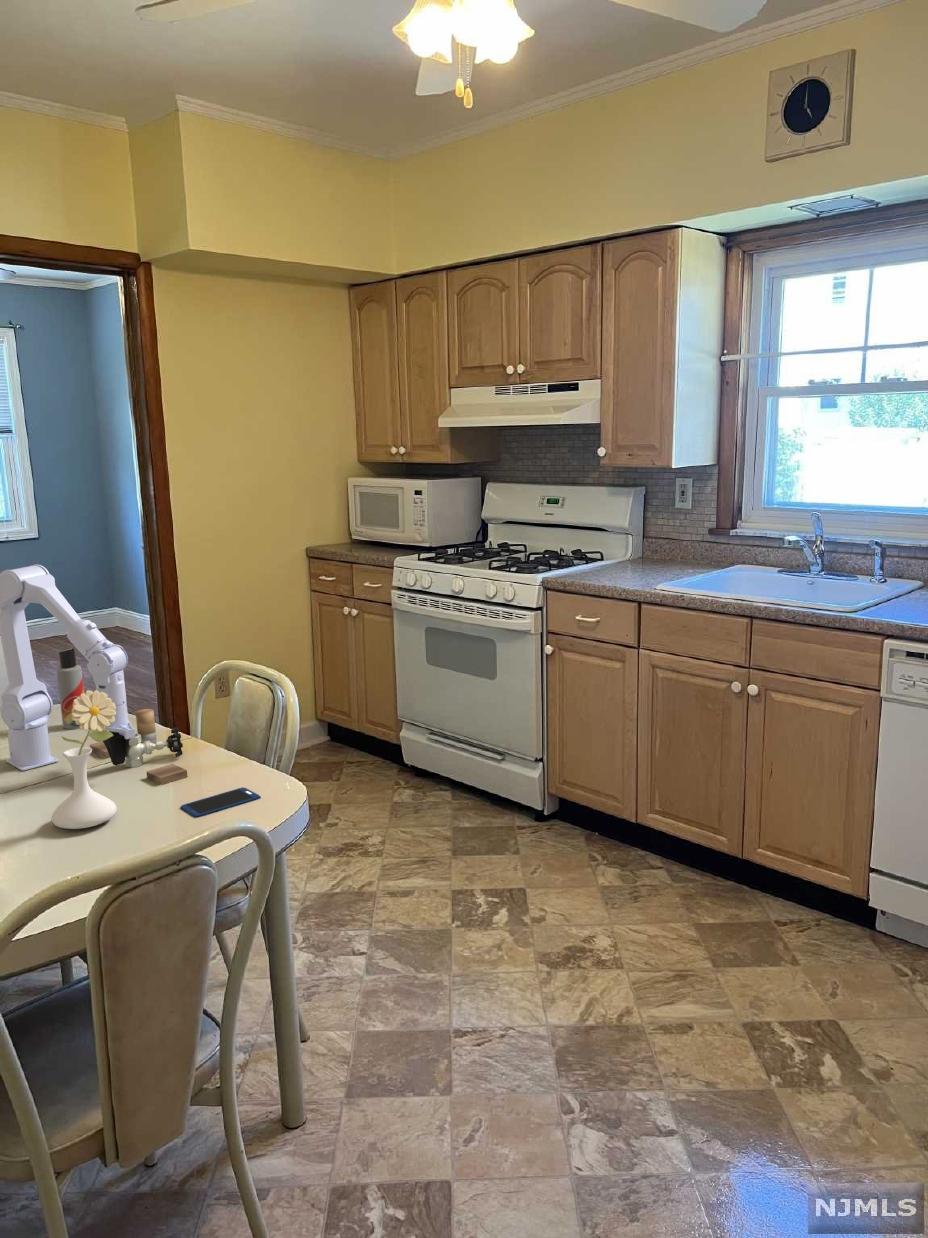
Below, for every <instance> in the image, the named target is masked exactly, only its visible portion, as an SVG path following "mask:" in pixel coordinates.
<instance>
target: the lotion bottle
mask: <svg viewBox="0 0 928 1238" xmlns="http://www.w3.org/2000/svg"><path fill="white" fill-rule="evenodd" d="M76 653H77V652H76V650H75V648H74V647H68V648H63V649H62V650H60V651H59V650H58V656H59V659H58V660H59V667H58V668H56V679H57V686H58V694H59V703H60V714H61V720H62V721H61V722H62V727H63V728H64V729H65V730H76V729H77V730H78V729H80V725H77V724H76V723H75V722H76V721H74V720H72V709H73V703H74V702H73V701H74V700H75V699H76V698H78V697H79V698H80V695H81V694H83V693H85V690H84V689H85V688H84V679H83V671H82V667H81V665H78V663H77V656H76Z"/></svg>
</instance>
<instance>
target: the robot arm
mask: <svg viewBox="0 0 928 1238" xmlns="http://www.w3.org/2000/svg"><path fill="white" fill-rule="evenodd" d="M55 581H56V580H55V577H54V576H53V575H52V574H50V572H49V570H48V569H47V568H46V567H44V566H43V565H41V564H37V563H36V564H32V565H29V566H23V567H18V568H14V569H4V570H3V571H1V572H0V643H1V647H2V653H3V659H4V663H5V669H6V674H7V679H8V685H7V687H6V688H5V690H4V691H3V692H2V694H1V695H0V698H1V707H0V716H1V719H2V721H3V723H4V724H5V725H6V726H7V727H8V731H7V741H8V750H9V758H7V759H6V760H5V761H6V763H8V764H10V765H11V766H13V767H15V768H17V769H18V770H20V771H22V772H23V771H28V770H32V769H35V768H39V767H43V766H46V765H49V764H53V763H58V762H59V759H58V758H57V757H56V756H55V757H54V756H53V755H51V745H50V737H49V729H48V722H47V721H49V720H50V719H49V715H50V714H51V713H52V712H53V707H54V703H53V699H52V698H51V696H50V694H49V693H48V688H47V686H46V684H45V683H43V682H42V681H40V680H38V679H37V675H36V674H37V673H36V669H35V662H34V656H33V652H32V647H31V646H32V645H31V641H30V635H29V630H28V625H27V620H26V619H27V618H26V613H25V609H26V608H27V606H29V605H30V603H31V604H39V605H41V606H43V608H45V609H46V610H47V611H48V613H50V614H51V615H52V616H53V618H55V619H56V620H57V621H58V622H59V623H60V624H61V625H62V626H63V627H64V628H65V629H66V630H67V633H66V638H67V639H68V640H69V641H70V642H71V644H72V645H73V646H74V647H75V648H76V649H77V650H78V651H79V652H80V653H81V655H82V656H83V657H84V658H85V659H86V660H87V661H88V663H86V667H87V670H88V672H89V673H90V675H91V676H92V678H93V683H94V685H95V691H98V692H99V693H100V692H104V693H105V694H107V698H110V699H111V700H112V702H113V703H115V706H116V709H115V712H116V715H115V716H114V717H115V718H114V719H115V721H114V722H113V723H111V725H110V726H108V727H106V726H105V729H106V730H108V731H109V732H111V733H112V734H113V736H112V737H110V738H108V739H106V740H104V741H103V743H104V744H105V746H106V748H107V751H108V753H109V756H110V758H109V759H110V761H111V764H112V765H113V766H120V765H124V764H125V759H126V758H125V757H126V751H127V746H128V743H129V740H130V738H134V737H135V734H136V729H135V727H133V726H132V724H131V721H130V720H129V714H128V706H127V695H126V686H125V685H126V683H125V674H124V670H125V669H126V668H127V666H128V664H129V657H128V653H127V651H126V650H125V649H124V647H123V646H121V645H120V644H114V643H113V642H112V641H110V640H108V639H107V638H106V637H105V635H104V634H103V633H102V632H101V631H100V630H99V629H98V627H97V624H96V623H95V622H92V621H91V620H89V619H84V618H83V619H82V618H81V617H80V616H79V614H78V613H77V612H76V611H75V610H74V608H73V607H72V606H71V604H70V603H69V602H68V600H67V598H65V596H64V595H63V594H62V592H61V591H60V590H59V589H58V588H57V586H56V582H55Z"/></svg>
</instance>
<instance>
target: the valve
mask: <svg viewBox="0 0 928 1238" xmlns="http://www.w3.org/2000/svg"><path fill="white" fill-rule="evenodd" d="M170 732H171V734H170V735H168V737H167V739H166V740H165V742H163V740H160V741H159V740H158V741H157V742H156V743H155V744H153V743H150V741H145V742H144V743H140V742H141V735H140V734H138V733H135V737H134V738H130V740H129V743H128V746H127V751H126V757H125V763H124V764H125V767H127V768H137V767H141V766H142V765H143V764H144V756H143V755H144V754H146V755H152V753H153V752H154V751H155V750H156V751H160V750H163V749H164V748H167V749H169V751H170V752H171V753H174V756H175V757H176V758H177V757H181V756H182V755H184V753H183V750H182V749H183V747H184V746H183V745H184V743H183V742H182V741H181V738H182V734H181V733H179V728H178V727H173V728H172V729H170Z"/></svg>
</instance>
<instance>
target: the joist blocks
mask: <svg viewBox="0 0 928 1238" xmlns="http://www.w3.org/2000/svg"><path fill="white" fill-rule="evenodd" d="M89 748H91V749H92V752H91V753H94V754H96V755H98V756H99V757H103V758H105V759H110V756H109V753H108V751H107V748H106V746H105V744H104V743H103V741H101V742H96V743H91V744H89ZM146 778H147V780H151V781H152V782H154V783H156V784H158V785H161V786H162V785H166V784H168V783H172V782H176V781H179V780H182V779H185V778H188V770H187V769H186V768H183V767H181V766H179V765H177V764H174V763H171V764H168V765H165V766H161V767H157V768H153V769H150V770H147V771H146Z"/></svg>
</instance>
